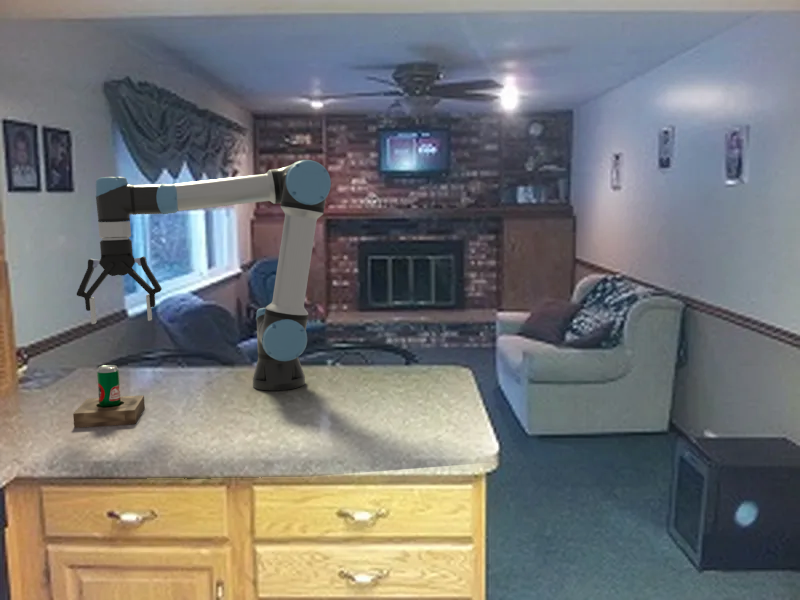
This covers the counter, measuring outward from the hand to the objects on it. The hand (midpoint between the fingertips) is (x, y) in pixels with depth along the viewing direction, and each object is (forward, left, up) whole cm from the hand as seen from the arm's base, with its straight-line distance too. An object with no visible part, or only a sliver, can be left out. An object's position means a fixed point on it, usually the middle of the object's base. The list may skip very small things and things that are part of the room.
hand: (122, 321), depth 188 cm
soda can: (+3, +8, -22) cm, 24 cm away
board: (+3, +8, -23) cm, 24 cm away
